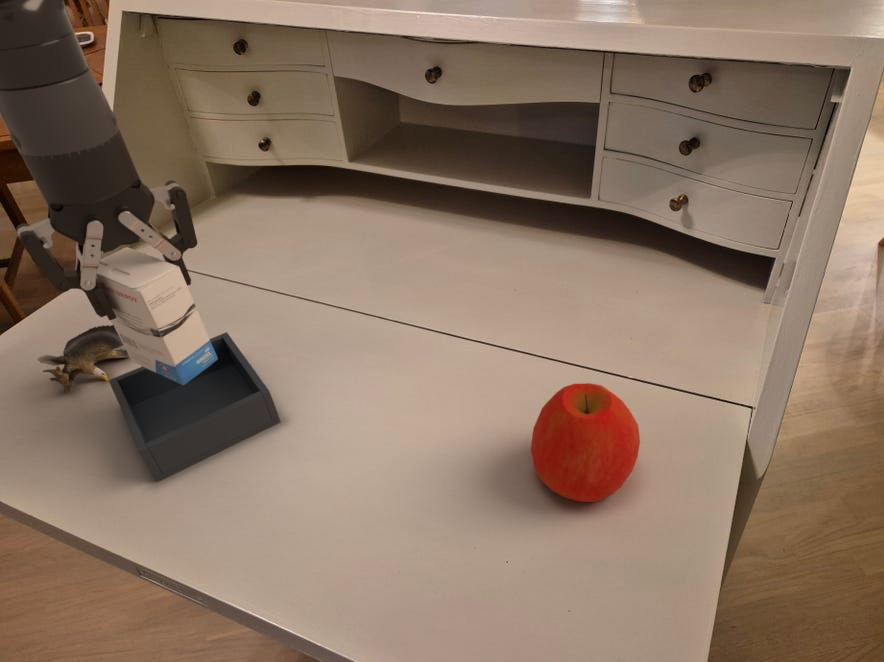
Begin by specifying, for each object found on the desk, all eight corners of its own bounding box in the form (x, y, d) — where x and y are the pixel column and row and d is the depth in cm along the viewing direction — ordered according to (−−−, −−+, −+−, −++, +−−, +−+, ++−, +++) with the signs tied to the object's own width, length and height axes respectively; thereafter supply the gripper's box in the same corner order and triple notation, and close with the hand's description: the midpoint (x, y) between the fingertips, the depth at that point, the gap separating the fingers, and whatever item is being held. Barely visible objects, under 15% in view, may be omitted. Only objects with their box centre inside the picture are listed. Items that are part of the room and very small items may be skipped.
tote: (157, 482, 66) (139, 451, 62) (126, 410, 74) (108, 379, 71) (281, 422, 71) (269, 391, 68) (238, 361, 80) (226, 331, 77)
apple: (639, 444, 66) (652, 369, 59) (626, 525, 59) (638, 449, 52) (543, 426, 69) (544, 352, 62) (519, 501, 61) (517, 426, 55)
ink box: (221, 359, 67) (181, 263, 60) (183, 387, 64) (136, 290, 56) (168, 336, 71) (124, 243, 63) (130, 362, 68) (79, 267, 60)
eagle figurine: (93, 399, 74) (146, 344, 79) (37, 359, 71) (96, 303, 76) (77, 406, 79) (128, 353, 84) (25, 368, 76) (81, 316, 81)
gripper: (146, 101, 57) (207, 261, 68) (-38, 144, 51) (61, 313, 62) (170, 123, 52) (231, 292, 63) (-30, 174, 46) (76, 351, 57)
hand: (147, 301), depth 62 cm, fingers closed on ink box, 6 cm apart
